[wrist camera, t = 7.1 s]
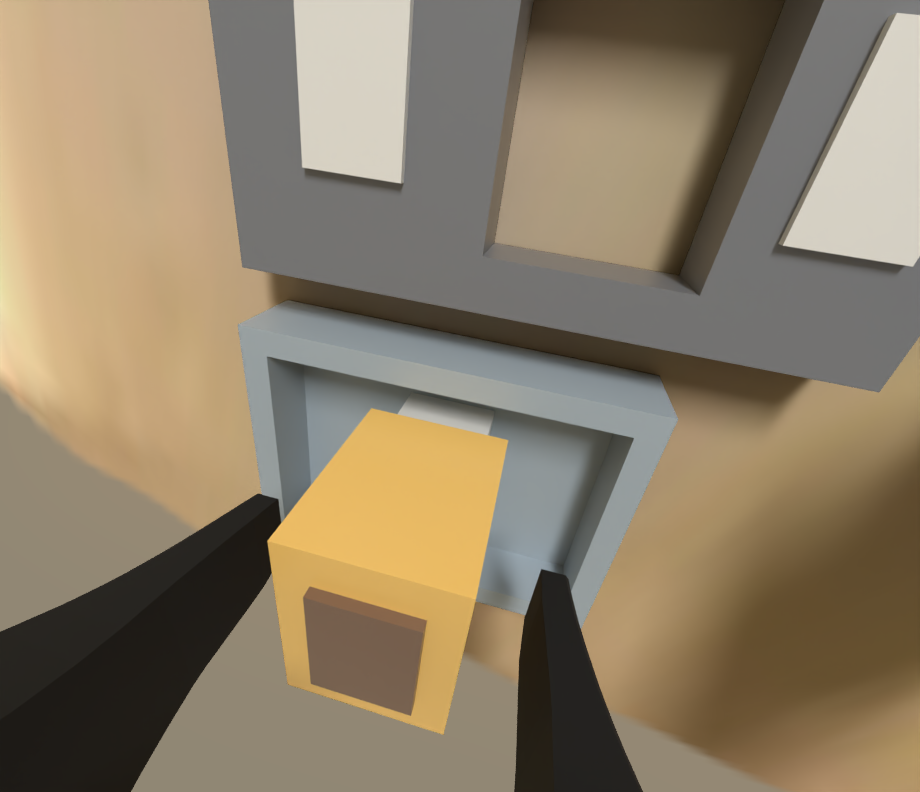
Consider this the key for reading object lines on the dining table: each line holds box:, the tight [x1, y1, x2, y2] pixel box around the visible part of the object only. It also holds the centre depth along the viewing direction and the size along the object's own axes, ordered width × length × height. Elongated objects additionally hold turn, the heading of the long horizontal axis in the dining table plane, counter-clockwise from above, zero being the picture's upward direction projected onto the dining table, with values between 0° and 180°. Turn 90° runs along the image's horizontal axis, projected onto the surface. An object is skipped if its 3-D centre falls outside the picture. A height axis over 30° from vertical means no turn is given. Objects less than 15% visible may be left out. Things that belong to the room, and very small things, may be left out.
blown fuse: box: [267, 393, 508, 735], centre depth 12 cm, size 4×5×7 cm
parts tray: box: [238, 300, 678, 628], centre depth 15 cm, size 12×9×2 cm
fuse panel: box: [208, 0, 920, 392], centre depth 9 cm, size 16×9×2 cm, turn 82°
